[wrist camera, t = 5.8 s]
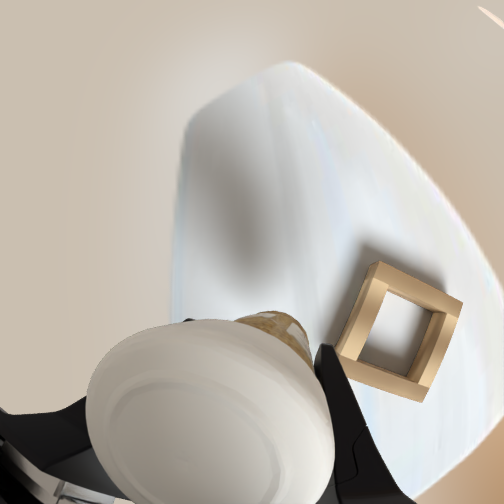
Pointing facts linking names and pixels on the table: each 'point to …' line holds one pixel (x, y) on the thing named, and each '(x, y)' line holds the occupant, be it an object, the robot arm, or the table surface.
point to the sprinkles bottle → (213, 414)
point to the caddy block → (431, 347)
